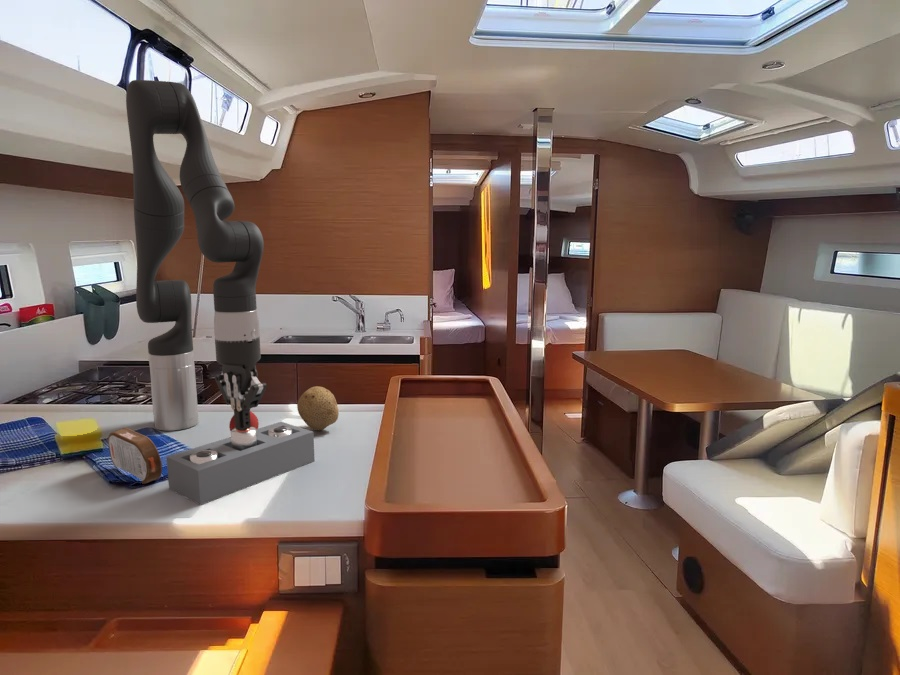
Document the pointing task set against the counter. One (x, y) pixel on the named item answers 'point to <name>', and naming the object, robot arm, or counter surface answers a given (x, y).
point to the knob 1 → (203, 456)
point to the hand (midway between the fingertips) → (243, 429)
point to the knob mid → (243, 438)
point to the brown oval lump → (318, 408)
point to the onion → (252, 419)
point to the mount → (239, 464)
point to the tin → (135, 454)
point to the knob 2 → (279, 432)
